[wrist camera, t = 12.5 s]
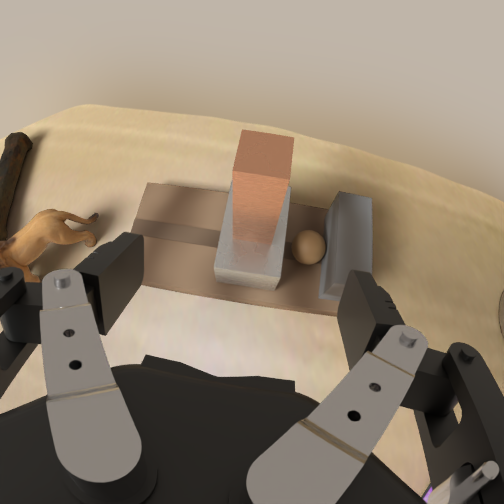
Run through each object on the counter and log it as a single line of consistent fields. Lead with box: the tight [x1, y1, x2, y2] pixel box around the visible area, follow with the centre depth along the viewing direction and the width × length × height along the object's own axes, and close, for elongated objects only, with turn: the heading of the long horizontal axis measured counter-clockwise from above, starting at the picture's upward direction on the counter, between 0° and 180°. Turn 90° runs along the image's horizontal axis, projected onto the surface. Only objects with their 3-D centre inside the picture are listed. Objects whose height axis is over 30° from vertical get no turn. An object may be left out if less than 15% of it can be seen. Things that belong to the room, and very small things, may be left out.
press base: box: [131, 183, 372, 317], centre depth 28 cm, size 22×10×7 cm, turn 81°
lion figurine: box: [0, 209, 99, 283], centre depth 26 cm, size 15×5×9 cm, turn 137°
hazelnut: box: [291, 230, 326, 265], centre depth 28 cm, size 3×3×3 cm
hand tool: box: [0, 132, 33, 241], centre depth 30 cm, size 19×4×5 cm, turn 3°
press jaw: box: [214, 130, 294, 291], centre depth 23 cm, size 5×8×13 cm, turn 171°
